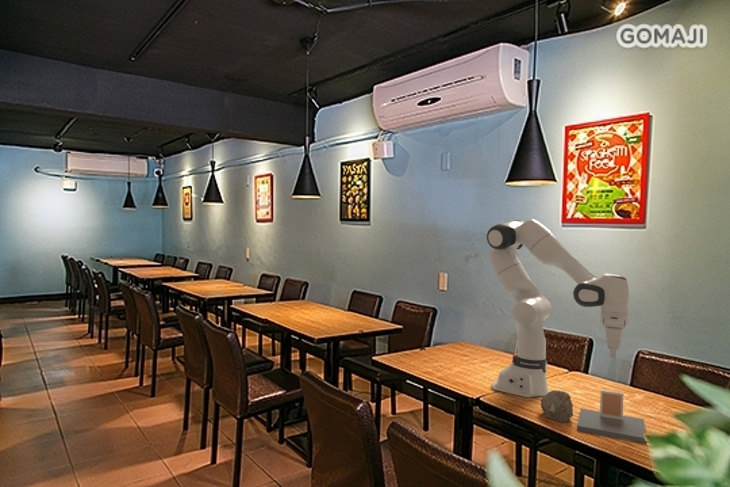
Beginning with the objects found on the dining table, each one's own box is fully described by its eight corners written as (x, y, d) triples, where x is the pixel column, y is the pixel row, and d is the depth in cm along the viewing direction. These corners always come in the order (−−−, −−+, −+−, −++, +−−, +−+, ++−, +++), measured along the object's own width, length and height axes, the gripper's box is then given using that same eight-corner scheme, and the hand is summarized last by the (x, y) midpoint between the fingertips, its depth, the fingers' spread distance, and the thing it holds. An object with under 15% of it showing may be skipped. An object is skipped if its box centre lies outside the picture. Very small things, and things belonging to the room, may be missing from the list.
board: (576, 430, 160) (577, 425, 160) (580, 412, 176) (580, 408, 176) (646, 443, 151) (646, 438, 150) (643, 423, 166) (643, 419, 166)
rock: (528, 396, 174) (542, 386, 178) (539, 423, 174) (552, 411, 178) (560, 400, 162) (573, 388, 166) (571, 428, 162) (585, 416, 166)
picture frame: (600, 416, 168) (600, 390, 168) (600, 414, 170) (600, 389, 170) (622, 420, 165) (623, 394, 165) (622, 418, 167) (623, 392, 166)
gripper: (605, 313, 184) (604, 349, 185) (603, 322, 166) (602, 361, 167) (623, 315, 181) (622, 351, 182) (624, 324, 163) (623, 364, 164)
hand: (612, 356), depth 174 cm, fingers open, 3 cm apart
